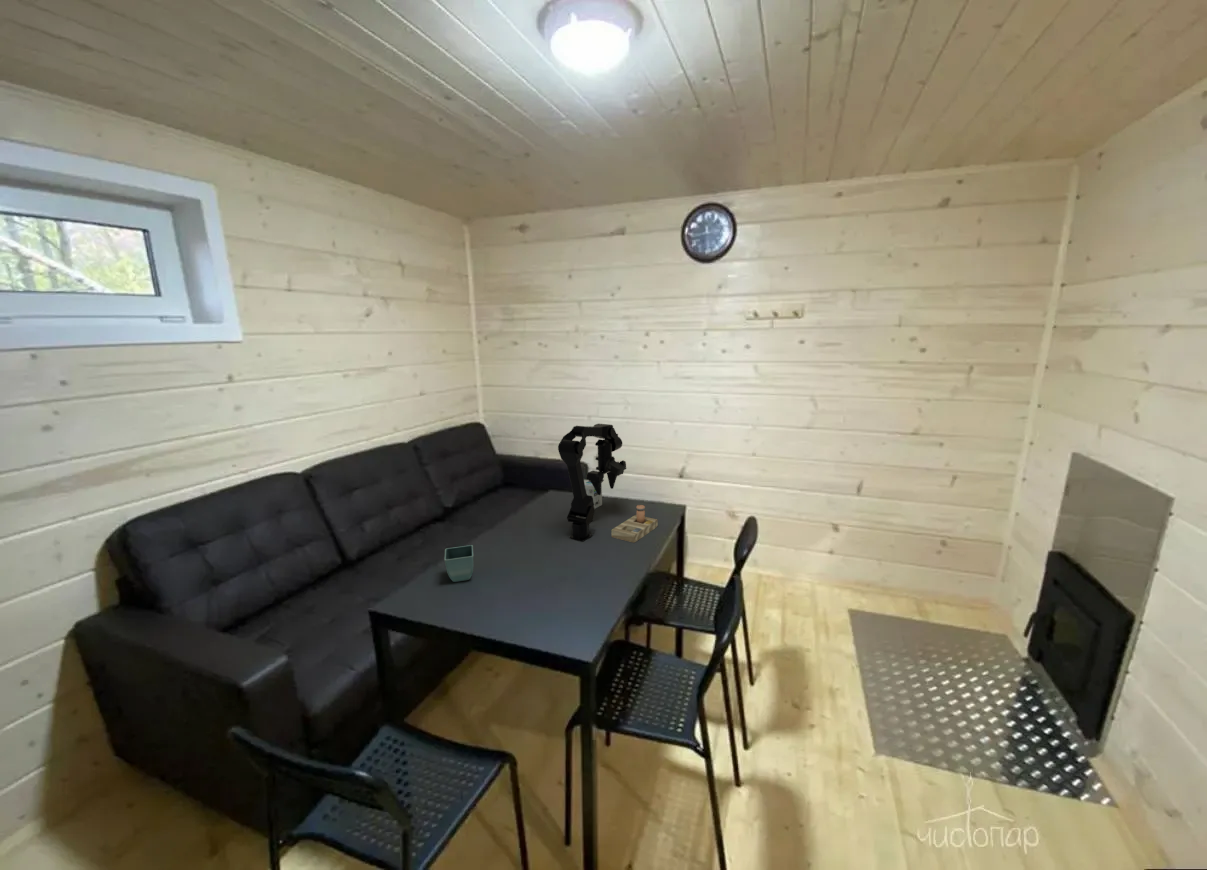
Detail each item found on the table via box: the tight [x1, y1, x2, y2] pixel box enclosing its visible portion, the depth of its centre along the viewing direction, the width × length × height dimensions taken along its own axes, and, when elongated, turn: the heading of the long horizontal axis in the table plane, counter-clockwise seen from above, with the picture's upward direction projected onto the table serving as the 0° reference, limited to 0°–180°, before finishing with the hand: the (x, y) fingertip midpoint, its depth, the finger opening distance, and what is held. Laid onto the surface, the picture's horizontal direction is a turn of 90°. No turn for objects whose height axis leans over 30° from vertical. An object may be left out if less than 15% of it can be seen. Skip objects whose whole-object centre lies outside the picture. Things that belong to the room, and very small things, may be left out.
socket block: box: [611, 514, 659, 544], centre depth 197 cm, size 18×10×3 cm, turn 146°
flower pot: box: [443, 544, 474, 583], centre depth 163 cm, size 9×9×9 cm
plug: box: [635, 504, 646, 524], centre depth 200 cm, size 3×3×9 cm
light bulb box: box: [584, 479, 603, 509], centre depth 226 cm, size 11×7×11 cm, turn 58°
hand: (605, 491), depth 208 cm, fingers open, 9 cm apart
